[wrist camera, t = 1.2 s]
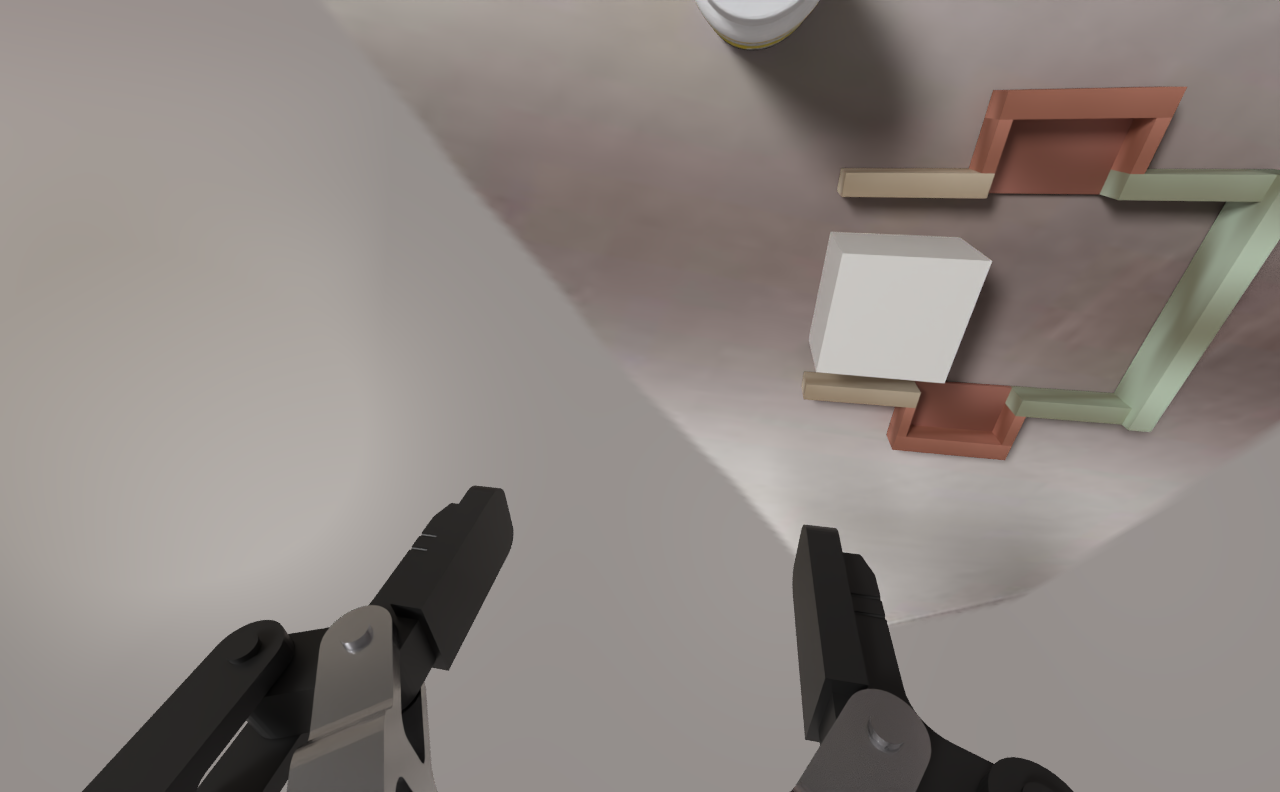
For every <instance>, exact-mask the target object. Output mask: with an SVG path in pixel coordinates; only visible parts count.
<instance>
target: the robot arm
mask: <svg viewBox="0 0 1280 792" xmlns="http://www.w3.org/2000/svg"><path fill="white" fill-rule="evenodd" d="M512 541H513V526H512V521H511V518H510V513H509V509H508V505H507V501H506V497H505V493H504V491H503V490H502V489H501V488H492V487H483V486H472V487H471V488H470V489H469V490H468V491H467V493H466V494H465V496H464V497H463V499H462V500H461V501H460V503H459V504H455V503H451V504H449V505H448V506H447V507H445V508H444V509H443V510H442V511H440V512H439V513H438V514H436V515H435V516H434V517H433V518H432V520H431V521H430V522H429V524H428V525H427V526H426V528H425V529H424V530H423V532H422V535H421V536H419V537H418V539H417V540H416V542H415V543H414V544H413V546H412V549H411V550H409V551H408V552H407V554H406V555H405V557H404V558H403V559H402V561H401V562H400V564H399V565H398V566H397V568H396V569H395V570H394V572H393V573H392V574H391V576H390V577H389V579H388V580H387V581H386V583H385V584H384V585H383V587H382V588H381V590H380V591H379V592H378V594H377V595H376V597H375V598H374V599H373V600H372V602H371V603H370V604H369V605H368V606H363V607H359V608H356V609H354V610H351V611H350V612H348V613H346V614H344V615H343V616H342V617H340V618H339V619H338V620H336V621H335V622H334V623H333V624H332V625H331V626H330V627H329V628H324V629H317V630H311V631H305V632H299V633H292V634H287V632H286V631H285V629H284V628H283V627H282V625H280V623H278V622H276V621H273V620H262V621H257V622H254V623H250V624H248V625H245V626H243V627H241V628H239V629H238V630H236V631H234V632H233V633H232V634H230V635H229V636H227V637H226V638H225V639H224V640H222V641H221V642H220V643H219V644H218V645H217V646H216V647H215V649H214V650H213V651H212V652H211V653H210V654H209V655H208V656H207V657H206V658H205V659H204V660H203V661H202V663H201V664H200V665H199V666H198V667H197V668H196V669H195V670H194V671H193V672H192V673H191V675H190V676H189V677H188V678H187V679H186V680H185V681H184V682H183V683H182V684H181V685H180V686H179V688H178V689H177V690H176V691H175V692H174V693H173V694H172V695H171V696H170V697H169V698H168V699H167V701H166V702H165V703H164V704H163V705H162V706H161V707H160V708H159V709H158V710H157V711H156V712H155V714H153V716H152V717H151V718H150V719H149V720H148V721H147V722H146V723H145V724H144V725H143V726H142V728H140V730H139V731H138V732H137V733H136V734H135V735H134V736H133V737H132V738H131V739H130V740H129V741H128V743H127V744H126V745H125V746H124V747H123V748H122V749H121V750H120V751H119V752H118V753H117V754H116V756H115V757H114V758H113V759H112V760H111V761H110V762H109V763H108V764H107V765H106V767H104V768H103V770H102V771H101V772H100V773H99V774H98V775H97V776H96V777H95V778H94V779H93V781H92V782H91V783H90V784H89V785H88V786H87V787H86V788H85V789H84V790H83V791H82V792H280V791H281V790H282V788H283V786H284V785H285V783H286V781H287V780H288V784H287V792H437V789H436V785H435V782H434V778H433V772H432V765H431V752H430V740H429V725H428V712H427V698H426V687H425V683H424V681H425V679H426V677H427V675H428V673H429V671H430V670H431V668H437V669H443V670H449V668H450V667H451V665H452V663H453V661H454V659H455V657H456V655H457V653H458V651H459V649H460V647H461V645H462V643H463V641H464V639H465V637H466V635H467V633H468V632H469V630H470V628H471V626H472V624H473V622H474V620H475V618H476V616H477V614H478V612H479V610H480V608H481V606H482V604H483V602H484V600H485V598H486V596H487V594H488V592H489V590H490V589H491V587H492V585H493V583H494V581H495V579H496V577H497V575H498V573H499V571H500V569H501V567H502V565H503V563H504V561H505V559H506V557H507V555H508V553H509V551H510V549H511V545H512ZM793 601H794V612H795V624H796V636H797V647H798V659H799V671H800V682H801V695H802V706H803V719H804V730H805V739H806V740H810V741H816V742H820V747H819V749H818V750H817V752H816V753H815V755H814V757H813V758H812V760H811V762H810V763H809V765H808V766H807V768H806V770H805V771H804V773H803V775H802V776H801V778H800V779H799V781H798V783H797V784H796V786H795V787H794V788H793V790H792V791H791V792H1073V791H1072V790H1071V789H1070V788H1069V787H1068V786H1067V784H1066V783H1064V782H1063V781H1062V780H1061V779H1060V778H1059V777H1057V776H1056V775H1055V774H1053V773H1052V772H1051V771H1049V770H1048V769H1046V768H1044V767H1042V766H1041V765H1039V764H1037V763H1034V762H1032V761H1030V760H1026V759H1022V758H1015V757H1011V758H1004V759H1001V760H999V761H998V762H996V763H995V764H993V763H991V762H989V761H987V760H985V759H983V758H981V757H979V756H977V755H975V754H973V753H971V752H969V751H967V750H965V749H963V748H961V747H959V746H957V745H955V744H953V743H951V742H949V741H948V740H945V739H944V738H942V737H941V736H940V735H938V734H937V733H935V732H934V731H933V730H932V729H931V728H930V727H928V726H927V725H926V724H925V723H924V722H923V721H922V720H921V719H920V717H919V716H918V715H917V713H916V712H915V711H914V709H913V707H912V706H911V704H910V703H909V700H908V698H907V696H906V694H905V691H904V687H903V684H902V680H901V676H900V672H899V668H898V664H897V660H896V656H895V652H894V648H893V644H892V640H891V636H890V632H889V628H888V625H887V621H886V620H885V613H884V609H883V605H882V601H880V593H879V589H878V585H877V581H876V577H875V574H874V573H873V572H872V570H871V569H870V567H869V566H868V565H867V563H866V562H865V560H864V559H863V558H862V556H861V555H859V554H851V553H843V552H842V548H841V543H840V538H839V533H838V530H837V529H836V528H829V527H820V526H812V525H803V527H802V530H801V535H800V539H799V544H798V549H797V554H796V558H795V563H794V569H793ZM245 721H247V722H248V723H247V724H246V726H245V727H244V728H243V730H242V731H241V732H240V733H239V735H238V736H237V737H236V739H235V740H234V741H233V743H232V744H231V746H230V747H229V748H228V749H227V751H226V752H225V753H224V754H223V756H222V757H221V758H220V760H219V761H218V762H217V764H216V765H215V766H214V768H213V769H212V770H211V771H210V773H209V774H208V775H207V777H206V778H205V779H204V780H203V782H202V783H201V785H200V786H199V787H198V785H199V783H200V781H201V779H202V777H203V776H204V774H205V773H206V771H207V770H208V769H209V768H210V766H211V765H212V764H213V762H214V761H215V760H216V758H217V757H218V756H219V755H220V753H221V752H222V751H223V749H224V748H225V747H226V746H227V744H228V743H229V742H230V740H231V739H232V738H233V737H234V735H235V734H236V733H237V731H238V730H239V729H240V727H241V726H242V725H243V723H244V722H245Z"/></svg>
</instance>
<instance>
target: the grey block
mask: <svg viewBox="0 0 1280 792" xmlns="http://www.w3.org/2000/svg"><path fill="white" fill-rule="evenodd" d="M991 263H992V260H990V259H989V258H987V257H986V256H985V255H983V254H982V253H981V252H979V251H978V250H976V249H975V248H974V247H972V246H971V245H970V244H968V243H967V242H965V241H964V240H963V239H961V238H960V237H939V236H916V235H893V234H870V233H848V232H831V233H830V237H829V242H828V247H827V252H826V257H825V262H824V267H823V272H822V277H821V282H820V286H819V291H818V296H817V301H816V306H815V311H814V316H813V321H812V326H811V331H810V335H809V343H810V347H811V352H812V356H813V360H814V365H815V369H816V372H821V373H832V374H843V375H855V376H866V377H877V378H889V379H900V380H912V381H923V382H934V383H945V381H946V378H947V376H948V373H949V371H950V368H951V365H952V363H953V360H954V358H955V355H956V353H957V350H958V347H959V345H960V342H961V340H962V337H963V335H964V332H965V330H966V327H967V324H968V322H969V319H970V317H971V314H972V312H973V309H974V306H975V304H976V301H977V299H978V296H979V294H980V291H981V288H982V286H983V283H984V281H985V278H986V276H987V273H988V271H989V268H990V265H991Z"/></svg>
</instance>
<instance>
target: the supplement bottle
mask: <svg viewBox="0 0 1280 792" xmlns="http://www.w3.org/2000/svg"><path fill="white" fill-rule="evenodd" d="M695 1H696V4H697V6H698V8H699V10H700V11H701V13H702V15H703V16H704V18H705V19H706V20H707V22H708V23H709V24H710V26H711V27H712V28H713V29H714V31H715V32H716V33H717V34H718V35H719V36H720V37H721V38H722V39H723V40H724V41H726V42H727V43H729V44H730V45H732V46H734V47H737V48H740V49H744V50H761V49H766V48H769V47H771V46H774V45H776V44H778V43H779V42H781V41H783V40H784V39H786V38H787V37H788V36H789V35H791V34H792V33H793V32H794V31H795V30H796V29H797V28H798V27H799V25H800V24H801V23H802V22H803V21H804V20H805V18H806V17H807V16H808V15H809V14H810V13H811V11H812V10H813V9H814V8H815V7H816V5H817V4H818V2H819V1H820V0H695Z"/></svg>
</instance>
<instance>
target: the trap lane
mask: <svg viewBox="0 0 1280 792" xmlns="http://www.w3.org/2000/svg"><path fill="white" fill-rule="evenodd" d="M1186 88H1187V87H1119V88H1072V89H1026V90H993V92H992V96H991V99H990V102H989V105H988V109H987V112H986V115H985V118H984V122H983V125H982V128H981V131H980V134H979V138H978V141H977V144H976V147H975V151H974V154H973V157H972V160H971V163H970V167H969V168H841V171H840V177H839V182H838V188H837V191H838V193H839V194H840V195H841V196H842V197H905V198H986V199H987V196H988V193H1024V194H1100V195H1103V196H1107V197H1110V198H1113V199H1116V200H1149V201H1226V203H1225V205H1224V206H1223V208H1222V210H1221V212H1220V213H1219V215H1218V217H1217V218H1216V220H1215V222H1214V223H1213V225H1212V227H1211V229H1210V230H1209V232H1208V234H1207V235H1206V237H1205V239H1204V241H1203V242H1202V244H1201V246H1200V247H1199V249H1198V251H1197V252H1196V254H1195V256H1194V258H1193V259H1192V261H1191V263H1190V264H1189V266H1188V268H1187V269H1186V271H1185V273H1184V275H1183V276H1182V278H1181V280H1180V281H1179V283H1178V285H1177V286H1176V288H1175V290H1174V292H1173V293H1172V295H1171V297H1170V298H1169V300H1168V302H1167V303H1166V305H1165V307H1164V309H1163V310H1162V312H1161V314H1160V315H1159V317H1158V319H1157V321H1156V322H1155V324H1154V326H1153V327H1152V329H1151V331H1150V332H1149V334H1148V336H1147V338H1146V339H1145V341H1144V343H1143V344H1142V346H1141V348H1140V349H1139V351H1138V353H1137V355H1136V356H1135V358H1134V360H1133V361H1132V363H1131V365H1130V366H1129V368H1128V370H1127V372H1126V373H1125V375H1124V377H1123V378H1122V380H1121V382H1120V384H1119V385H1118V387H1117V389H1116V390H1115V392H1114V393H1103V392H1089V391H1074V390H1060V389H1046V388H1032V387H1018V386H1003V385H989V384H975V383H961V382H946V381H945V383H934V382H923V381H912V380H900V379H889V378H877V377H866V376H855V375H843V374H832V373H818V372H804V375H803V380H802V392H803V398H804V399H807V400H819V401H832V402H844V403H857V404H870V405H882V406H895V409H894V412H893V415H892V418H891V422H890V425H889V428H888V431H887V434H886V435H887V437H888V440H889V442H890V445H891V447H892V450H902V451H912V452H923V453H934V454H945V455H955V456H966V457H977V458H987V459H998V460H1005V459H1006V457H1007V455H1008V453H1009V451H1010V448H1011V446H1012V444H1013V442H1014V440H1015V438H1016V436H1017V434H1018V432H1019V430H1020V428H1021V426H1022V424H1023V422H1024V420H1025V418H1026V417H1033V418H1046V419H1058V420H1071V421H1083V422H1096V423H1109V424H1121V425H1123V426H1124V427H1125V428H1126V429H1127V430H1132V431H1144V432H1151V431H1152V429H1153V428H1154V426H1155V425H1156V423H1157V422H1158V420H1159V419H1160V417H1161V416H1162V414H1163V413H1164V411H1165V410H1166V408H1167V407H1168V405H1169V404H1170V402H1171V401H1172V399H1173V398H1174V396H1175V395H1176V393H1177V392H1178V390H1179V389H1180V387H1181V386H1182V384H1183V383H1184V381H1185V380H1186V378H1187V377H1188V375H1189V374H1190V372H1191V371H1192V369H1193V368H1194V366H1195V365H1196V363H1197V362H1198V360H1199V359H1200V358H1201V356H1202V355H1203V353H1204V352H1205V350H1206V349H1207V347H1208V346H1209V344H1210V343H1211V341H1212V340H1213V338H1214V337H1215V335H1216V334H1217V332H1218V331H1219V329H1220V328H1221V326H1222V325H1223V323H1224V322H1225V320H1226V319H1227V317H1228V316H1229V314H1230V313H1231V311H1232V310H1233V308H1234V307H1235V305H1236V304H1237V302H1238V301H1239V299H1240V298H1241V296H1242V295H1243V293H1244V292H1245V290H1246V289H1247V287H1248V286H1249V284H1250V283H1251V281H1252V280H1253V278H1254V277H1255V275H1256V274H1257V272H1258V271H1259V269H1260V268H1261V266H1262V265H1263V263H1264V262H1265V260H1266V259H1267V257H1268V256H1269V254H1270V253H1271V251H1272V250H1273V248H1274V247H1275V245H1276V244H1277V242H1278V241H1279V239H1280V170H1275V169H1147V168H1148V166H1149V164H1150V162H1151V160H1152V158H1153V156H1154V154H1155V152H1156V150H1157V148H1158V146H1159V144H1160V142H1161V139H1162V137H1163V135H1164V133H1165V131H1166V129H1167V127H1168V125H1169V123H1170V121H1171V119H1172V117H1173V115H1174V113H1175V111H1176V109H1177V107H1178V105H1179V103H1180V101H1181V99H1182V97H1183V94H1184V92H1185V90H1186Z"/></svg>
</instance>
